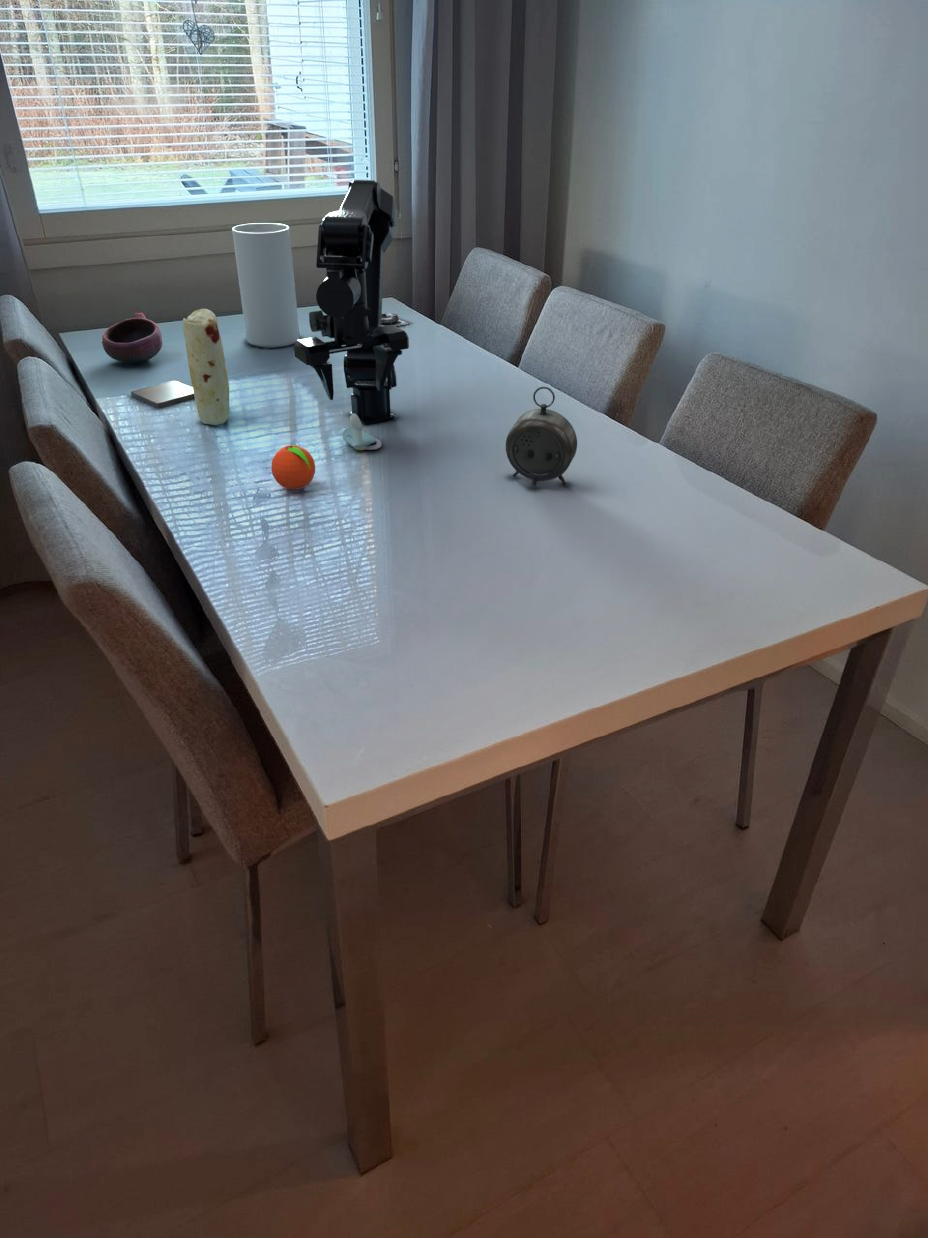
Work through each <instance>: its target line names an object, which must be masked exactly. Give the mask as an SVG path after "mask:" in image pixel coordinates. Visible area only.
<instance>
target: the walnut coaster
mask: <svg viewBox="0 0 928 1238" xmlns="http://www.w3.org/2000/svg"><path fill="white" fill-rule="evenodd" d="M130 395H131V397H132V398H134V399H136V400H139V401H141V402H143V403H145V404H147V405H150V406H152V407H154V408H156V409H161V408H165V407H168V406H171V405H175V404H178V403H181V402H182V403H183V402H185V401H189V400H192V399H195V397H194V392H193V387H192V386H190V385H188V384H185V383H183V382H180V381H178V380H175V379H173V380H169V381H166V382H162V383H157V384H155V385H150V386H148V387H143V388H139V389H136V390H132V391H130Z"/></svg>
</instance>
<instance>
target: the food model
mask: <svg viewBox="0 0 928 1238" xmlns="http://www.w3.org/2000/svg"><path fill="white" fill-rule="evenodd" d="M182 330H183V336H184V342H185V350H186V356H187V365H188V372H189V377H190V382H191V387H192V388H193V392H194V397H195V398H194V401H195V407H196V411H197V416H198V418H199V420H200V422H201V423H202V424H203V425H212V426H218V425H223V424H225V423H226V422H227V421H228V419H229V417H230V411H231V405H230V383H229V382H230V381H229V375H228V369H227V362H226V357H225V351H224V345H223V339H222V336H221V332H220V326H219V323H218V319H217V316H216V314H215V312H213V311H212V310H209V309H208V308H200V309H196V310H193V312H192V313H190V315H188V316H187V318H185V317H183V319H182Z"/></svg>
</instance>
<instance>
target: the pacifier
mask: <svg viewBox="0 0 928 1238" xmlns="http://www.w3.org/2000/svg"><path fill="white" fill-rule="evenodd" d="M349 424H350V426H351V427H349V428H345V429H343V432H342V440H343V441H344V442H345V443H346V444H349V445H350V446H351V447H352V448H353V449H354V450H356V451H366V450H369V451H373V450H378V449H380V448H381V447H382V442H381V440H379V439H378V438H377V437H375V436H372V435H371V434H369V433H367V432H366V431H364V429H363V423H362V422H361V421H360V419H359V417H358V416H357V415H356V414H355V413H354V414H352V415H351V414H350V417H349ZM372 444H373V445H372Z"/></svg>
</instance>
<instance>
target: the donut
mask: <svg viewBox="0 0 928 1238" xmlns="http://www.w3.org/2000/svg"><path fill="white" fill-rule="evenodd" d="M408 324H409V322H406V321H404V320H401V319H399V315H398V313H393V312H384V313H383V312H382V318H381V327H382V326H388V325H394V326H396V327H399V326H404V325H408Z"/></svg>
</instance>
